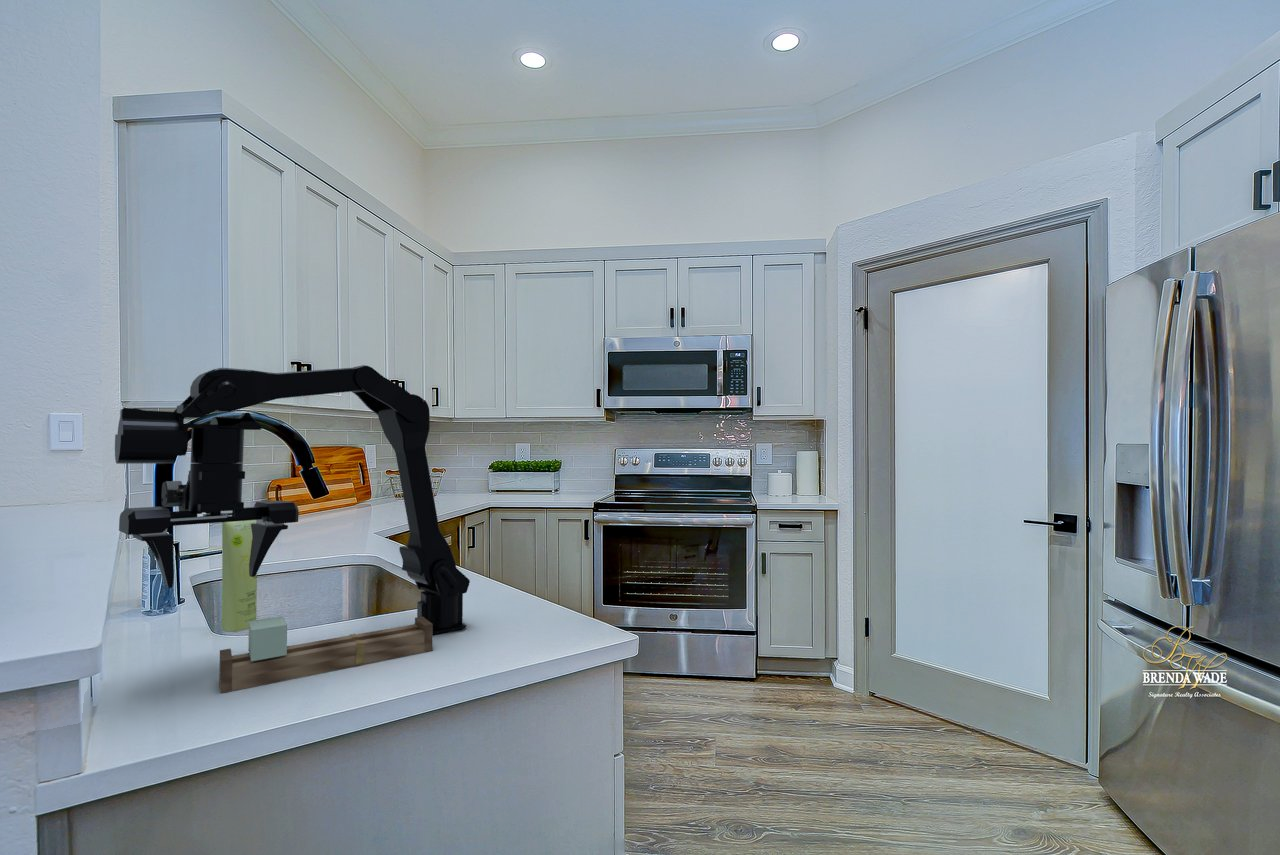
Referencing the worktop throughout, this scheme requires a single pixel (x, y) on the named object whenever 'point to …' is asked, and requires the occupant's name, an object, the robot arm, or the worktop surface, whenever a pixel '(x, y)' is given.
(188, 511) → the robot arm
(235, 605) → the tube
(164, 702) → the worktop surface
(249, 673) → the rail
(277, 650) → the block
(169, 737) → the worktop surface
